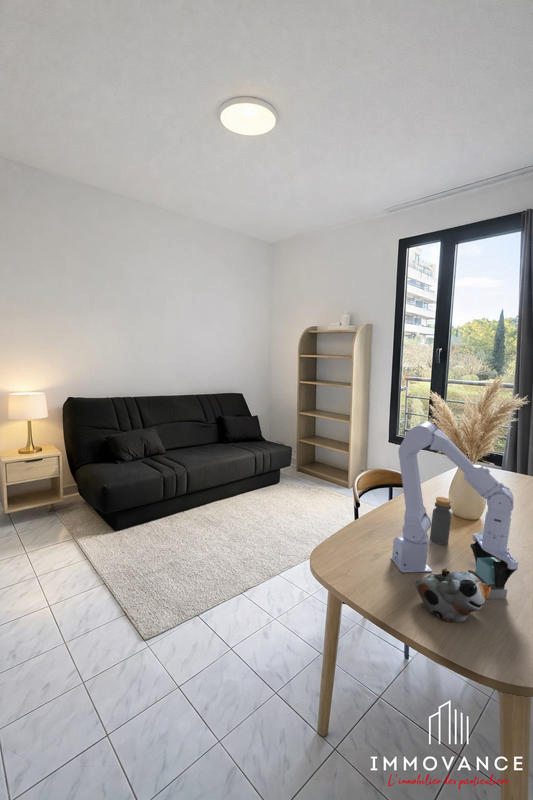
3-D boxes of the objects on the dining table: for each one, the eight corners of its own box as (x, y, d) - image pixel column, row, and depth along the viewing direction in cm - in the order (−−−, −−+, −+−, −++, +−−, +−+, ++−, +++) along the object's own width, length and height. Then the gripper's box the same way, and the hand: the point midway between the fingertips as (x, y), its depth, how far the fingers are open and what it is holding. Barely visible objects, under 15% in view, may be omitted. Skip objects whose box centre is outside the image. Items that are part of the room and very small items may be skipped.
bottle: (429, 541, 126) (433, 500, 124) (430, 534, 132) (434, 494, 129) (447, 546, 124) (452, 504, 122) (448, 538, 129) (453, 498, 127)
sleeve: (487, 589, 98) (489, 568, 97) (474, 577, 103) (477, 557, 102) (504, 588, 98) (507, 567, 97) (491, 576, 103) (493, 557, 102)
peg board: (495, 583, 104) (498, 559, 103) (467, 574, 108) (470, 550, 107) (499, 556, 119) (502, 534, 118) (475, 548, 123) (478, 528, 122)
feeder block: (485, 598, 98) (486, 590, 97) (470, 584, 103) (471, 576, 103) (506, 598, 98) (507, 589, 98) (490, 583, 104) (491, 575, 104)
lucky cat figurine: (447, 586, 102) (480, 555, 96) (473, 631, 92) (512, 600, 86) (405, 579, 97) (437, 546, 91) (428, 626, 87) (466, 592, 81)
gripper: (531, 545, 92) (524, 595, 94) (490, 519, 106) (484, 562, 108) (505, 546, 91) (498, 596, 93) (468, 519, 105) (462, 563, 107)
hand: (489, 578), depth 100 cm, fingers open, 7 cm apart
